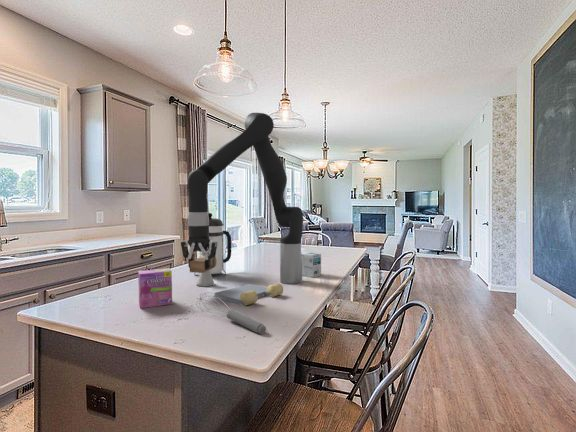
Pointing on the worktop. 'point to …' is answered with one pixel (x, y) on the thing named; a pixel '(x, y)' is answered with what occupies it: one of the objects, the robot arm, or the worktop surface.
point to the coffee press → (217, 236)
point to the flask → (205, 279)
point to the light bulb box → (311, 264)
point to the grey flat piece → (249, 293)
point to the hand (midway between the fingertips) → (199, 268)
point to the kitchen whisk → (239, 318)
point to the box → (155, 287)
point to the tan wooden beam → (201, 264)
